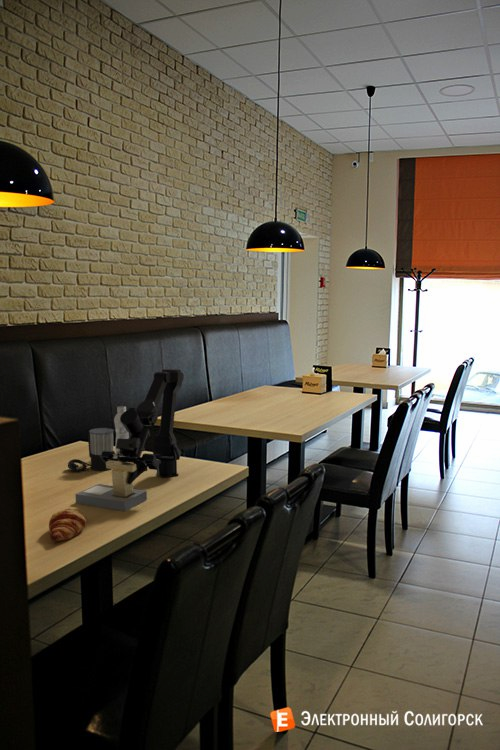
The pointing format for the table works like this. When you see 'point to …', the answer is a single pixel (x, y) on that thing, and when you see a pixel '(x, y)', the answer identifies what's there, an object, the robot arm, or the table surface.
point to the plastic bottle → (120, 427)
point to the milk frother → (95, 449)
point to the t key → (121, 477)
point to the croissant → (66, 524)
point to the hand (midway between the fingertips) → (121, 483)
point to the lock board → (109, 498)
